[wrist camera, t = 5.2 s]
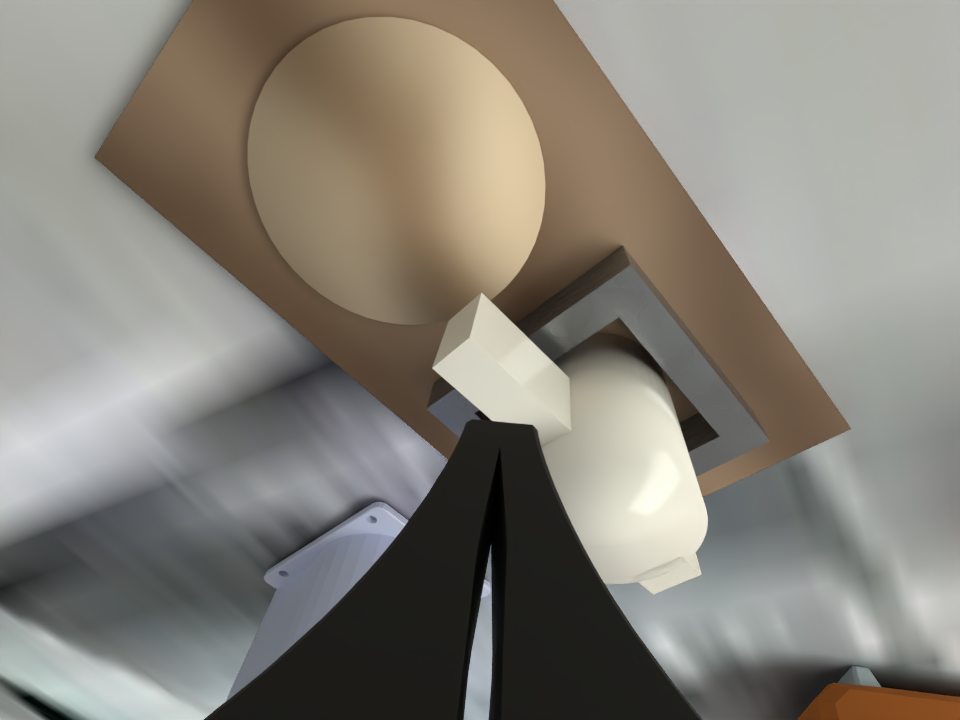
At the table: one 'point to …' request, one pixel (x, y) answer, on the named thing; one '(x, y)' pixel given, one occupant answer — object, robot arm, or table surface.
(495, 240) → the coaster
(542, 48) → the board
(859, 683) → the orange toaster
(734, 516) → the table surface
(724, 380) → the socket
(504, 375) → the cream tapered cylinder
